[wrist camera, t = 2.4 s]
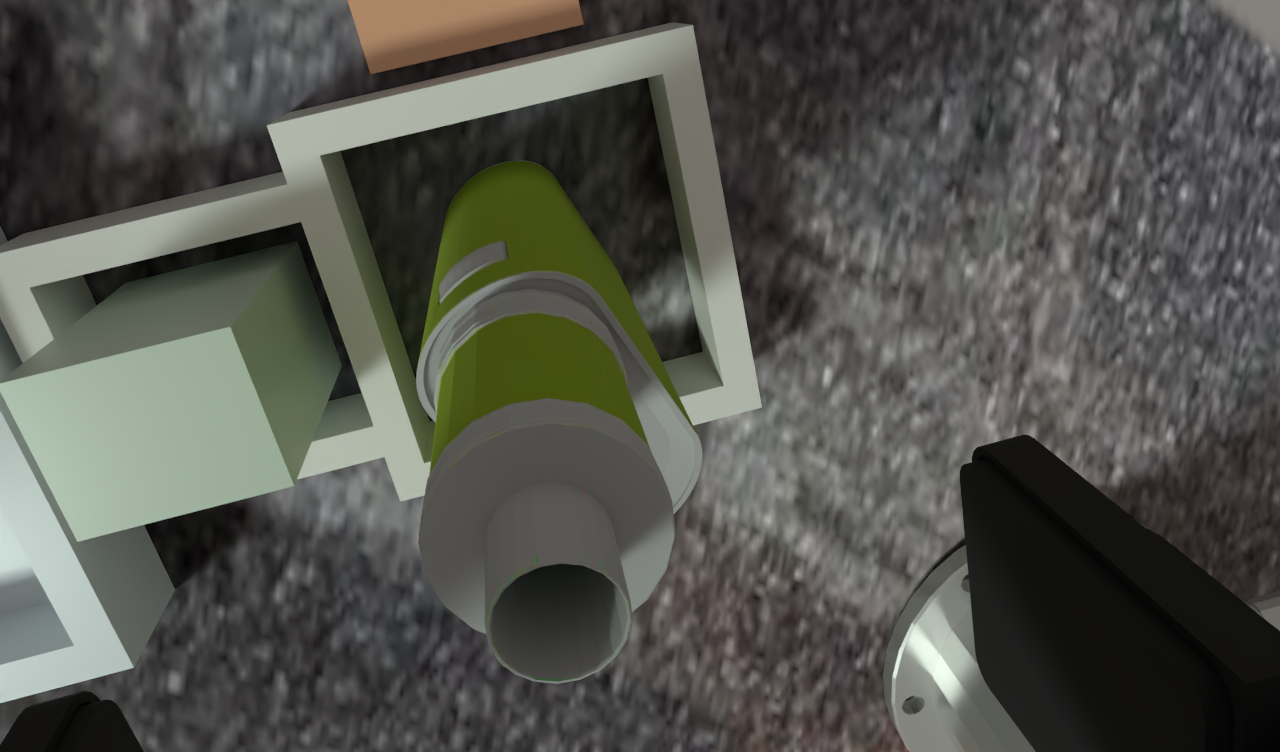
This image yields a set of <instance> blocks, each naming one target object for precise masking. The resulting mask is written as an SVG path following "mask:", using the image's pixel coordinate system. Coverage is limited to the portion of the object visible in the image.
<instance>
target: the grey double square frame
mask: <svg viewBox="0 0 1280 752" xmlns="http://www.w3.org/2000/svg"><path fill="white" fill-rule="evenodd" d="M348 3H349V6H350V9H351V13H352V16H353V19H354V22H355V26H356V29H357V32H358V35H359V38H360V42H361V45H362V48H363V51H364V55H365V58H366V61H367V64H368V68H369V71H370V74H374V73H378V72H383V71H387V70H391V69H396V68H400V67H404V66H408V65H413V64H417V63H421V62H425V61H430V60H434V59H438V58H442V57H447V56H451V55H455V54H460V53H464V52H468V51H472V50H477V49H481V48H485V47H489V46H494V45H498V44H502V43H507V42H511V41H515V40H519V39H524V38H528V37H532V36H536V35H541V34H545V33H549V32H554V31H558V30H562V29H566V28H571V27H575V26H579V25H583V24H584V23H583V18H582V14H581V9H580V5H579V0H348ZM643 78H648V82H649V87H650V92H651V97H652V102H653V107H654V112H655V117H656V122H657V127H658V132H659V137H660V142H661V147H662V152H663V157H664V162H665V167H666V172H667V177H668V182H669V187H670V192H671V197H672V201H673V206H674V211H675V216H676V221H677V226H678V231H679V236H680V241H681V246H682V251H683V256H684V261H685V266H686V271H687V276H688V281H689V286H690V291H691V296H692V301H693V306H694V311H695V316H696V321H697V325H698V330H699V335H700V340H701V345H702V350H703V352H699V353H695V354H691V355H688V356H684V357H680V358H676V359H672V360H668V361H664V362H662V363H663V365H664V367H665V369H666V371H667V373H668V375H669V377H670V379H671V381H672V383H673V385H674V388H675V390H676V392H677V394H678V396H679V398H680V400H681V402H682V404H683V406H684V408H685V410H686V412H687V414H688V416H689V418H690V420H691V422H692V425H696V424H700V423H704V422H708V421H712V420H716V419H719V418H723V417H727V416H731V415H735V414H739V413H743V412H746V411H750V410H754V409H758V408H762V405H761V400H760V394H759V389H758V383H757V378H756V372H755V367H754V361H753V356H752V350H751V344H750V339H749V333H748V328H747V322H746V317H745V311H744V306H743V300H742V295H741V289H740V283H739V278H738V272H737V267H736V261H735V256H734V250H733V245H732V239H731V234H730V228H729V222H728V217H727V211H726V206H725V200H724V195H723V189H722V184H721V178H720V173H719V167H718V161H717V156H716V150H715V145H714V139H713V134H712V128H711V123H710V117H709V112H708V106H707V100H706V95H705V89H704V84H703V78H702V73H701V67H700V62H699V56H698V51H697V45H696V39H695V34H694V28H693V25H689V24H681V23H673V22H671V23H667V24H663V25H659V26H654V27H650V28H646V29H642V30H637V31H633V32H629V33H625V34H620V35H616V36H612V37H608V38H603V39H599V40H595V41H591V42H586V43H582V44H578V45H574V46H569V47H565V48H561V49H557V50H552V51H548V52H544V53H540V54H535V55H531V56H527V57H523V58H518V59H514V60H510V61H506V62H501V63H497V64H493V65H489V66H484V67H480V68H476V69H472V70H467V71H463V72H459V73H455V74H450V75H446V76H442V77H438V78H433V79H429V80H425V81H421V82H416V83H412V84H408V85H404V86H399V87H395V88H391V89H387V90H382V91H378V92H374V93H370V94H365V95H361V96H357V97H353V98H348V99H344V100H340V101H336V102H331V103H327V104H323V105H319V106H314V107H310V108H306V109H302V110H297V111H293V112H289V113H287V114H286V115H284V116H282V117H280V118H279V119H277V120H275V121H273V122H272V123H270V124H268V125H267V128H268V131H269V134H270V136H271V139H272V142H273V145H274V148H275V150H276V153H277V156H278V159H279V162H280V164H281V167H282V170H283V172H279V173H275V174H270V175H266V176H262V177H258V178H254V179H249V180H245V181H241V182H237V183H233V184H229V185H224V186H220V187H216V188H212V189H208V190H203V191H199V192H195V193H191V194H187V195H182V196H178V197H174V198H170V199H166V200H162V201H157V202H153V203H149V204H145V205H141V206H136V207H132V208H128V209H124V210H120V211H115V212H111V213H107V214H103V215H99V216H95V217H90V218H86V219H82V220H78V221H74V222H69V223H65V224H61V225H57V226H53V227H48V228H44V229H40V230H36V231H32V232H27V233H24V234H22V235H20V236H18V237H16V238H14V239H12V240H10V241H8V242H6V243H4V244H2V245H0V318H1V320H2V322H3V324H4V326H5V328H6V330H7V332H8V334H9V336H10V338H11V340H12V342H13V344H14V346H15V348H16V350H17V352H18V354H19V356H20V358H21V360H22V362H23V363H24V362H25V361H27V360H28V359H29V358H31V357H32V356H33V355H34V354H36V353H37V352H38V351H40V350H41V349H42V348H43V347H45V346H46V345H47V344H48V343H50V342H51V341H52V340H54V339H55V338H56V337H57V336H59V335H60V334H61V333H62V332H64V331H65V330H66V329H68V328H69V327H70V326H71V325H73V324H74V323H75V322H76V321H78V320H79V319H80V318H82V317H83V316H84V315H85V314H87V313H88V312H89V311H90V310H92V309H93V308H94V307H96V306H97V305H96V302H95V300H94V298H93V296H92V294H91V292H90V289H89V287H88V285H87V283H86V281H85V278H84V276H83V275H84V274H88V273H92V272H96V271H101V270H105V269H109V268H113V267H117V266H121V265H125V264H129V263H134V262H138V261H142V260H146V259H150V258H154V257H158V256H163V255H167V254H171V253H175V252H179V251H183V250H187V249H191V248H196V247H200V246H204V245H208V244H212V243H216V242H220V241H225V240H229V239H233V238H237V237H241V236H245V235H249V234H253V233H258V232H262V231H266V230H270V229H274V228H278V227H282V226H286V225H291V224H295V223H299V222H301V223H302V226H303V229H304V232H305V235H306V237H307V240H308V243H309V246H310V249H311V252H312V254H313V257H314V260H315V263H316V266H317V268H318V271H319V274H320V277H321V280H322V282H323V285H324V288H325V291H326V294H327V296H328V299H329V302H330V305H331V308H332V311H333V313H334V316H335V319H336V322H337V325H338V327H339V330H340V333H341V336H342V339H343V341H344V344H345V347H346V350H347V353H348V355H349V358H350V361H351V364H352V367H353V370H354V372H355V375H356V378H357V381H358V384H359V386H360V389H361V392H362V393H358V394H354V395H351V396H347V397H343V398H339V399H335V400H331V401H328V402H327V405H326V407H325V410H324V412H323V415H322V417H321V420H320V422H319V425H318V427H317V430H316V432H315V435H314V437H313V440H312V443H311V445H310V448H309V450H308V453H307V455H306V458H305V460H304V463H303V465H302V468H301V470H300V473H299V475H298V478H297V479H301V478H305V477H309V476H313V475H316V474H320V473H324V472H328V471H332V470H336V469H340V468H344V467H348V466H351V465H355V464H359V463H363V462H367V461H371V460H375V459H379V458H383V457H385V459H386V462H387V465H388V468H389V471H390V473H391V476H392V479H393V482H394V485H395V488H396V490H397V493H398V496H399V499H400V502H401V501H404V500H408V499H412V498H416V497H420V496H424V495H425V489H426V484H427V479H428V477H429V474H430V466H431V457H432V449H433V440H434V432H435V422H434V421H429V418H428V415H427V412H426V411H425V409H424V408H423V406H422V404H421V402H420V399H419V396H418V392H417V385H416V379H415V376H414V373H413V370H412V367H411V364H410V361H409V358H408V355H407V352H406V349H405V346H404V343H403V340H402V337H401V334H400V330H399V327H398V324H397V321H396V318H395V315H394V312H393V309H392V306H391V303H390V300H389V297H388V294H387V291H386V288H385V285H384V282H383V279H382V276H381V273H380V270H379V267H378V264H377V261H376V258H375V255H374V252H373V249H372V246H371V243H370V240H369V237H368V234H367V231H366V228H365V224H364V221H363V218H362V215H361V212H360V209H359V206H358V203H357V200H356V197H355V194H354V191H353V188H352V185H351V182H350V179H349V176H348V173H347V170H346V167H345V164H344V161H343V158H342V155H341V152H340V151H341V150H346V149H350V148H354V147H358V146H362V145H367V144H371V143H375V142H379V141H383V140H387V139H392V138H396V137H400V136H404V135H408V134H413V133H417V132H421V131H425V130H429V129H434V128H438V127H442V126H446V125H450V124H455V123H459V122H463V121H467V120H471V119H476V118H480V117H484V116H488V115H492V114H497V113H501V112H505V111H509V110H513V109H518V108H522V107H526V106H530V105H534V104H539V103H543V102H547V101H551V100H555V99H560V98H564V97H568V96H572V95H576V94H580V93H585V92H589V91H593V90H597V89H601V88H606V87H610V86H614V85H618V84H622V83H627V82H631V81H635V80H639V79H643Z"/></svg>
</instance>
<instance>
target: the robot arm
mask: <svg viewBox="0 0 1280 752" xmlns="http://www.w3.org/2000/svg"><path fill="white" fill-rule="evenodd" d="M960 485H961V496H962V507H963V519H964V530H965V542H966V545H964V546H963V547H961V548H959V549H958V550H956V551H955V552H954V553H953V554H952V555H951V556H950V557H948V558H947V559H946V560H945V561H944V562H943V563H942V564H941V565H939V566H938V567H937V568H936V569H935V570H934V571H933V572H932V573H931V574H930V575H929V576H928V577H927V579H926V580H925V581H924V582H923V583H922V585H921V586H920V587H919V588H918V589H917V591H916V592H915V593H914V594H913V596H912V597H911V598H910V600H909V602H908V604H907V605H906V607H905V609H904V611H903V612H902V614H901V616H900V617H899V619H898V621H897V623H896V625H895V628H894V631H893V634H892V636H891V639H890V642H889V645H888V648H887V651H886V658H885V665H884V673H883V682H884V694H885V702H886V705H887V708H888V711H889V714H890V717H891V720H892V723H893V725H894V726H895V728H896V730H897V732H898V733H899V735H900V737H901V739H902V740H903V742H904V744H905V746H906V748H907V749H908V750H909V751H910V752H1280V592H1274V593H1271V594H1267V595H1263V596H1260V597H1256V598H1253V599H1249V600H1246V601H1242V600H1240V599H1239V598H1238V597H1236V596H1235V595H1234V594H1233V593H1231V592H1230V591H1229V590H1228V589H1226V588H1225V587H1224V586H1223V585H1221V584H1220V583H1219V582H1218V581H1216V580H1215V579H1214V578H1213V577H1211V576H1210V575H1209V574H1208V573H1206V572H1205V571H1204V570H1203V569H1201V568H1200V567H1199V566H1198V565H1196V564H1195V563H1194V562H1193V561H1191V560H1190V559H1189V558H1188V557H1186V556H1185V555H1184V554H1183V553H1181V552H1180V551H1179V550H1178V549H1176V548H1175V547H1174V546H1173V545H1171V544H1170V543H1169V542H1168V541H1166V540H1165V539H1164V538H1163V537H1161V536H1160V535H1159V534H1157V533H1156V532H1155V531H1154V530H1152V529H1150V528H1148V527H1147V526H1145V525H1143V524H1142V523H1140V522H1138V521H1136V520H1135V519H1134V518H1132V517H1131V516H1130V515H1129V514H1127V513H1126V512H1125V511H1124V510H1122V509H1121V508H1120V507H1119V506H1117V505H1116V504H1115V503H1114V502H1112V501H1111V500H1110V499H1109V498H1107V497H1106V496H1105V495H1104V494H1103V493H1101V492H1100V491H1099V490H1098V489H1096V488H1095V487H1094V486H1093V485H1091V484H1090V483H1089V482H1088V481H1086V480H1085V479H1084V478H1083V477H1081V476H1080V475H1079V474H1078V473H1076V472H1075V471H1074V470H1073V469H1071V468H1070V467H1069V466H1068V465H1066V464H1065V463H1064V462H1063V461H1061V460H1060V459H1059V458H1058V457H1056V456H1055V455H1054V454H1053V453H1051V452H1050V451H1049V450H1048V449H1047V448H1045V447H1044V446H1043V445H1042V444H1040V443H1039V442H1038V441H1037V440H1035V439H1034V438H1032V437H1031V436H1029V435H1021V436H1017V437H1013V438H1010V439H1006V440H1002V441H999V442H995V443H991V444H988V445H984V446H980V447H977V448H976V449H975V450H974V452H973V456H972V463H968V464H964V465H963V466H962V467H961V470H960ZM0 752H144V751H143V750H142V748H141V746H140V744H139V742H138V741H137V739H136V737H135V735H134V733H133V731H132V730H131V728H130V726H129V724H128V722H127V721H126V719H125V717H124V715H123V713H122V712H121V710H120V708H119V707H118V706H117V704H116V703H114V702H113V701H112V700H103V701H100V699H99V698H98V697H97V696H96V695H94V694H93V693H92V692H86V691H83V692H79V693H75V694H72V695H68V696H64V697H61V698H57V699H53V700H50V701H46V702H42V703H39V704H35V705H32V706H30V707H27V708H25V709H24V710H23V711H22V713H21V714H20V715H19V716H18V718H17V719H16V721H15V722H14V724H13V726H12V727H11V729H10V731H9V732H8V734H7V735H6V737H5V739H4V740H3V742H2V743H1V745H0Z"/></svg>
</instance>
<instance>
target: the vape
mask: <svg viewBox="0 0 1280 752" xmlns="http://www.w3.org/2000/svg"><path fill="white" fill-rule="evenodd" d="M416 385H417V392H418V396H419V399H420V402H421V404H422V406H423V408H424V409H425V411H426V412H427V413H428V415H429V416H430V417H431V418H432V419H433V421H434V422H435V432H434V440H433V449H432V457H431V466H430V474H429V477H428V479H427V484H426V489H425V496H424V503H423V509H422V516H421V523H420V531H419V542H418V543H419V547H420V552H421V557H422V561H423V566H424V570H425V575H426V578H427V579H428V581H429V582H430V584H431V585H432V587H433V589H434V590H435V592H436V593H437V595H438V596H439V598H440V599H441V601H442V602H443V604H444V605H445V607H446V608H448V609H449V610H450V611H451V612H453V613H454V614H455V615H457V616H458V617H459V618H460V619H462V620H463V621H464V622H466V623H467V624H468V625H469V626H471V627H472V628H473V629H475V630H477V631H480V632H483V633H485V634H486V635H487V640H488V645H489V647H490V648H491V650H492V651H493V653H494V655H495V656H496V658H497V659H498V661H499V662H500V663H501V664H503V665H504V666H505V667H507V668H508V669H509V670H510V671H512V672H513V673H514V674H516V675H518V676H521V677H524V678H527V679H529V680H532V681H535V682H545V683H564V682H569V681H575V680H580V679H582V678H585V677H587V676H589V675H591V674H593V673H595V672H597V671H600V670H601V669H602V668H604V667H605V666H606V665H607V664H608V663H609V662H611V661H612V660H613V659H614V658H615V657H617V655H618V654H619V652H620V651H621V649H622V648H623V646H624V644H625V643H626V641H627V640H628V638H629V633H630V629H631V625H632V621H633V617H632V612H633V611H634V610H635V609H637V608H638V607H639V606H640V605H641V604H642V603H644V602H645V601H646V600H647V599H648V598H649V596H650V595H651V593H652V591H653V590H654V588H655V587H656V585H657V584H658V582H659V581H660V579H661V577H662V576H663V574H664V573H665V571H666V570H667V567H668V563H669V559H670V555H671V551H672V547H673V543H674V539H675V535H676V533H675V523H674V513H675V512H676V511H677V510H678V509H679V508H680V507H681V506H682V504H683V503H684V502H685V500H686V499H687V498H688V496H689V495H690V493H691V491H692V490H693V488H694V486H695V484H696V482H697V479H698V476H699V473H700V470H701V465H702V447H701V443H700V440H699V437H698V435H697V433H696V431H695V429H694V427H693V425H692V422H691V420H690V418H689V416H688V414H687V412H686V410H685V408H684V406H683V404H682V402H681V400H680V398H679V396H678V394H677V392H676V390H675V388H674V385H673V383H672V381H671V379H670V377H669V375H668V373H667V371H666V369H665V367H664V365H663V363H662V361H661V359H660V357H659V355H658V353H657V351H656V348H655V346H654V344H653V342H652V340H651V338H650V336H649V334H648V332H647V330H646V328H645V326H644V324H643V322H642V320H641V318H640V316H639V314H638V311H637V309H636V307H635V305H634V303H633V301H632V299H631V297H630V295H629V293H628V291H627V289H626V287H625V285H624V283H623V281H622V279H621V277H620V274H619V272H618V270H617V268H616V266H615V265H614V263H613V262H612V260H611V259H610V258H609V256H608V255H607V253H606V252H605V250H604V249H603V247H602V246H601V244H600V243H599V241H598V240H597V239H596V237H595V236H594V234H593V233H592V231H591V230H590V228H589V227H588V225H587V224H586V222H585V221H584V219H583V218H582V217H581V215H580V214H579V212H578V211H577V209H576V208H575V206H574V205H573V203H572V202H571V200H570V199H569V197H568V196H567V195H566V193H565V192H564V190H563V189H562V187H561V186H560V184H559V183H558V181H557V180H556V178H555V177H554V176H553V174H552V173H551V172H550V171H549V170H548V169H546V168H545V167H543V166H542V165H540V164H537V163H535V162H531V161H525V160H513V161H506V162H501V163H498V164H495V165H492V166H490V167H488V168H486V169H484V170H482V171H480V172H479V173H477V174H476V175H474V176H473V177H472V178H470V179H469V180H468V181H467V182H466V183H465V184H464V185H463V186H462V187H461V188H460V189H459V190H458V192H457V193H456V194H455V196H454V197H453V199H452V201H451V203H450V205H449V207H448V210H447V212H446V217H445V222H444V227H443V232H442V238H441V243H440V248H439V254H438V259H437V265H436V270H435V275H434V281H433V286H432V291H431V297H430V302H429V307H428V313H427V318H426V323H425V329H424V334H423V340H422V345H421V350H420V356H419V361H418V366H417V374H416Z"/></svg>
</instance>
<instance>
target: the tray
mask: <svg viewBox="0 0 1280 752" xmlns="http://www.w3.org/2000/svg"><path fill="white" fill-rule="evenodd" d="M6 242H8V241H7V238H6V236H5V234H4V232H3V230H2V228H1V226H0V245H2V244H4V243H6ZM22 364H23V362H22V360H21V358H20V356H19V354H18V352H17V350H16V348H15V346H14V344H13V342H12V340H11V338H10V336H9V334H8V332H7V330H6V328H5V326H4V324H3V322H2V320H1V318H0V381H1V380H3V379H4V378H5V377H6V376H8V375H9V374H10V373H11V372H13V371H14V370H15V369H17V368H18V367H19V366H20V365H22ZM174 591H175V588H174V586H173V584H172V582H171V580H170V578H169V576H168V574H167V572H166V570H165V568H164V565H163V563H162V561H161V559H160V557H159V555H158V553H157V551H156V549H155V547H154V545H153V543H152V540H151V538H150V536H149V534H148V532H147V530H146V528H145V526H144V525H141V526H137V527H133V528H129V529H126V530H122V531H118V532H114V533H110V534H106V535H102V536H98V537H95V538H91V539H87V540H83V541H79V542H77V540H76V538H75V536H74V534H73V532H72V530H71V528H70V526H69V524H68V522H67V520H66V519H65V517H64V515H63V513H62V511H61V509H60V507H59V505H58V503H57V501H56V499H55V497H54V495H53V493H52V491H51V489H50V488H49V486H48V484H47V482H46V480H45V478H44V476H43V474H42V472H41V470H40V468H39V466H38V464H37V462H36V460H35V458H34V456H33V455H32V453H31V451H30V449H29V447H28V445H27V443H26V441H25V439H24V437H23V435H22V433H21V431H20V429H19V427H18V425H17V423H16V422H15V420H14V418H13V416H12V414H11V412H10V410H9V408H8V406H7V404H6V402H5V400H4V398H3V396H2V394H1V392H0V703H3V702H6V701H10V700H14V699H18V698H21V697H25V696H29V695H33V694H37V693H40V692H44V691H48V690H52V689H55V688H59V687H63V686H67V685H70V684H74V683H78V682H82V681H85V680H89V679H93V678H97V677H100V676H104V675H108V674H112V673H115V672H119V671H123V670H127V669H131V668H134V666H135V665H136V663H137V661H138V659H139V657H140V655H141V653H142V651H143V649H144V648H145V646H146V644H147V642H148V640H149V638H150V636H151V634H152V632H153V630H154V629H155V627H156V625H157V623H158V621H159V619H160V617H161V615H162V613H163V611H164V610H165V608H166V606H167V604H168V602H169V600H170V598H171V596H172V594H173V592H174Z"/></svg>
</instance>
